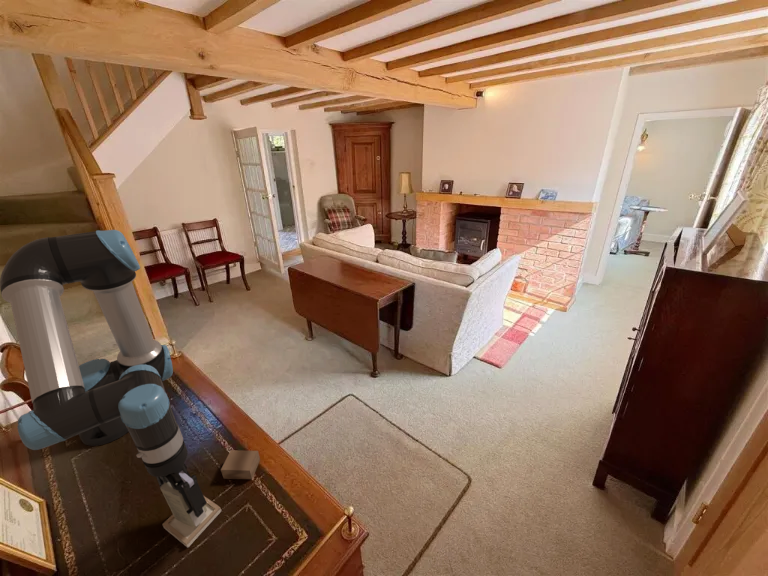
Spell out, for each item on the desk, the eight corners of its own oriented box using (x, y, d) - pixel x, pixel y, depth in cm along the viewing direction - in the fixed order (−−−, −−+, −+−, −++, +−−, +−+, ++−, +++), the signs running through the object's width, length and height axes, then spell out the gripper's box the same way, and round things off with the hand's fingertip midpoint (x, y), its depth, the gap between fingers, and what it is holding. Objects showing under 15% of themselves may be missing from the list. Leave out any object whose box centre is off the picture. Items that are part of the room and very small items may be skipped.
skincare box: (208, 510, 79) (196, 479, 73) (193, 528, 75) (180, 497, 70) (188, 500, 80) (176, 470, 75) (173, 518, 77) (158, 487, 71)
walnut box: (223, 479, 88) (220, 469, 86) (233, 459, 93) (230, 450, 92) (252, 479, 88) (249, 470, 86) (260, 460, 93) (258, 450, 92)
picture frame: (164, 528, 77) (162, 524, 76) (198, 494, 84) (196, 490, 83) (187, 547, 73) (186, 544, 72) (221, 511, 80) (220, 507, 80)
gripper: (118, 444, 68) (151, 508, 78) (174, 485, 61) (203, 550, 70) (154, 420, 74) (180, 482, 84) (209, 454, 67) (231, 518, 76)
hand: (190, 513), depth 77 cm, fingers closed on skincare box, 6 cm apart
